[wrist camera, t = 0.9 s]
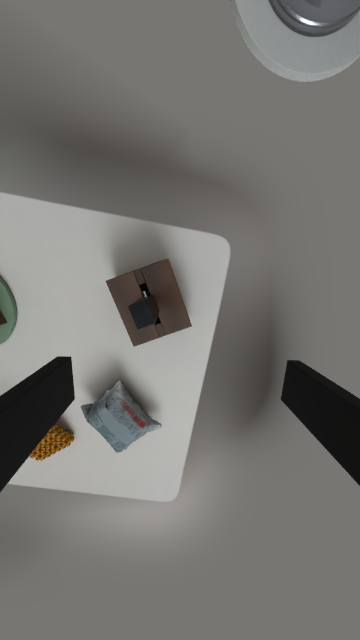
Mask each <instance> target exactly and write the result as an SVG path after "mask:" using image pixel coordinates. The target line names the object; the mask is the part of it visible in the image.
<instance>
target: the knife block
mask: <svg viewBox="0 0 360 640" xmlns="http://www.w3.org/2000/svg"><path fill="white" fill-rule="evenodd" d="M106 283H107V285H108V288H109V290H110V292H111V295H112V297H113V299H114V302H115V304H116V306H117V308H118V311H119V313H120V315H121V318H122V320H123V322H124V325H125V327H126V329H127V332H128V334H129V336H130V339H131V341H132V343H133V346H137V345H140V344H143V343H146V342H148V341H151V340H154V339H157V338H159V337H163V336H165V335H168V334H171V333H174V332H177V331H180V330H182V329H185V328H188V327H191V326H192V325H191V323H190V320H189V317H188V314H187V311H186V308H185V305H184V302H183V300H182V297H181V294H180V291H179V288H178V285H177V282H176V279H175V277H174V274H173V271H172V268H171V265H170V262H169V259H165V260H162V261H160V262H157V263H154V264H151V265H149V266H146V267H143V268H141V269H138V270H135V271H132V272H129V273H126V274H124V275H121V276H118V277H115V278H113V279H110V280H107V281H106ZM144 284H146V285H147V287H148V290H149V292H150V295H151V294H153V295H154V298H155V301H156V303H157V306H158V309H159V311H160V312H159V315H158V316H159V318H157V321H156V324H153V325H151V326H148V327H145V328H142V329H139V330H138V329H137V327H136V325H135V322H134V320H133V318H132V315H131V313H130V310H129V308H128V306H129V305H131V304H132V303H134V302H135V301H137V300H138V299H140V298H143V297H145V296H144V293H143V292H144V291H146V289H145V286H144Z"/></svg>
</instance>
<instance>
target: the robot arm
mask: <svg viewBox="0 0 360 640" xmlns="http://www.w3.org/2000/svg"><path fill="white" fill-rule="evenodd" d="M269 3H270V5H271V7H272V9H273V10H274V12H275V14H276V15H277V16H278V18H279V19H280V20H281V21H282V22H283V23H284V25H286V26H287V27H288V28H289V29H291V30H292V31H294V32H296V33H298V34H300V35H303V36H308V37H322V36H327V35H330V34H332V33H334V32H337V31H338V30H340V29H342V28H343V27H344V26H346V25H347V24H348V23H349V22H350V21H351V20H352V19H353V18H354V17H355V16H356V15H357V14H358V12H359V11H360V0H269ZM74 399H75V397H74V385H73V373H72V361H71V357H56V358H55V359H53V360H52V361H50V362H49V363H48V364H46V365H45V366H43V367H42V368H40V369H39V370H37V371H36V372H35V373H33V374H32V375H30V376H29V377H27V378H26V379H24V380H23V381H21V382H20V383H19V384H17V385H16V386H14V387H13V388H11V389H10V390H8V391H7V392H6V393H4V394H3V395H1V396H0V492H1V491H2V489H3V488H4V487H5V486H6V484H7V483H8V482H9V481H10V479H11V478H12V477H13V476H14V474H15V473H16V472H17V471H18V469H19V468H20V467H21V466H22V464H23V463H24V462H25V460H26V459H27V458H28V457H29V455H30V454H31V453H32V452H33V450H34V449H35V448H36V447H37V445H38V444H39V443H40V442H41V440H42V439H43V438H44V437H45V435H46V434H47V433H48V432H49V430H50V429H51V428H52V427H53V425H54V424H55V423H56V422H57V420H58V419H59V418H60V417H61V415H62V414H63V413H64V411H65V410H66V409H67V408H68V406H69V405H70V404H71V403H72V401H73V400H74ZM281 400H282V401H283V402H284V404H286V406H287V407H288V408H289V409H290V410H291V411H292V412H293V413H294V414H295V415H296V417H297V418H298V419H299V420H300V421H301V422H302V423H303V424H304V425H305V426H306V428H307V429H308V430H309V431H310V432H311V433H312V434H313V435H314V436H315V437H316V438H317V440H318V441H319V442H320V443H321V444H322V445H323V446H324V447H325V448H326V449H327V450H328V451H329V453H330V454H331V455H332V456H333V457H334V458H335V459H336V460H337V461H338V462H339V464H340V465H341V466H342V467H343V468H344V469H345V470H346V471H347V472H348V473H349V474H350V475H351V477H352V478H353V479H354V480H355V481H356V482H357V483H358V484H359V485H360V399H359V398H358V397H356V396H354V395H353V394H351V393H350V392H348V391H347V390H345V389H343V388H342V387H340V386H339V385H337V384H336V383H334V382H332V381H331V380H329V379H327V378H326V377H324V376H323V375H321V374H320V373H318V372H316V371H315V370H313V369H312V368H310V367H309V366H307V365H305V364H304V363H302V362H300V361H295V360H288V361H287V367H286V373H285V378H284V384H283V390H282V396H281Z"/></svg>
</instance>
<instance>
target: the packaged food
mask: <svg viewBox="0 0 360 640" xmlns="http://www.w3.org/2000/svg"><path fill="white" fill-rule="evenodd" d="M81 408H82V411H83V414H84V416H85V418H86V420H87V422H88V423H89V424H90V425H91V426H93V427H94V428H95V429H96V430H97V431H98V432H100V434H101V435H102V436H103V437H104V438H105V439H106V440H107V442H108V443H109V444H110V445H111V446H112V447H113V449H114V450H115V451H116V452H117V453H118V452H121V451H122V450H123V449H127V447H128V446H129V445H130V444H131V443H133V442H134V441H136V440H137V439H138V438H140V437H141V436H143V435H144V434H145V433H147V432H150V431H153V430H156V429H158V428H161V424H160V423H159V422H157V421H155V420H153V419H152V417H150V416H149V415H148V414H147V413H146V412H145V411H143V410H142V409H141V408H140V407H139V406H138V404H137V403H135V402H134V401H133V399H132V397H131V396H130V395H129V393H128V392H127V391H126V389H125V388H124V386H123V385H122V383H121V381H120V380H119V381H118V382H117V383H116V385H115V386H114V387H113V388H112V389H111V390H110V391H109V390H106V392H105V394H104V395H103V396H102V397H101V398H100V399H99V400H98V401H97V402H95V403H93V404H92V403H91V404H86V405H82V406H81Z"/></svg>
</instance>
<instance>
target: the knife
mask: <svg viewBox="0 0 360 640" xmlns="http://www.w3.org/2000/svg"><path fill="white" fill-rule="evenodd" d="M143 293H144V296H145V297H143V298H140V299H138V300H137V301H135V302H134V303H132V304H131V305H129V306H128V308H129V310H130V313H131V315H132V318H133V320H134V322H135V325H136V327H137V329H138V330H139V329H142V328H145V327H148V326H151V325H153V324H156V321H157V318H158V315H159V312H160V311H159V309H158V306H157V303H156V301H155V298H154V295H153V294H151V295H150V292H149V290H146V291H144V292H143Z"/></svg>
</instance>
